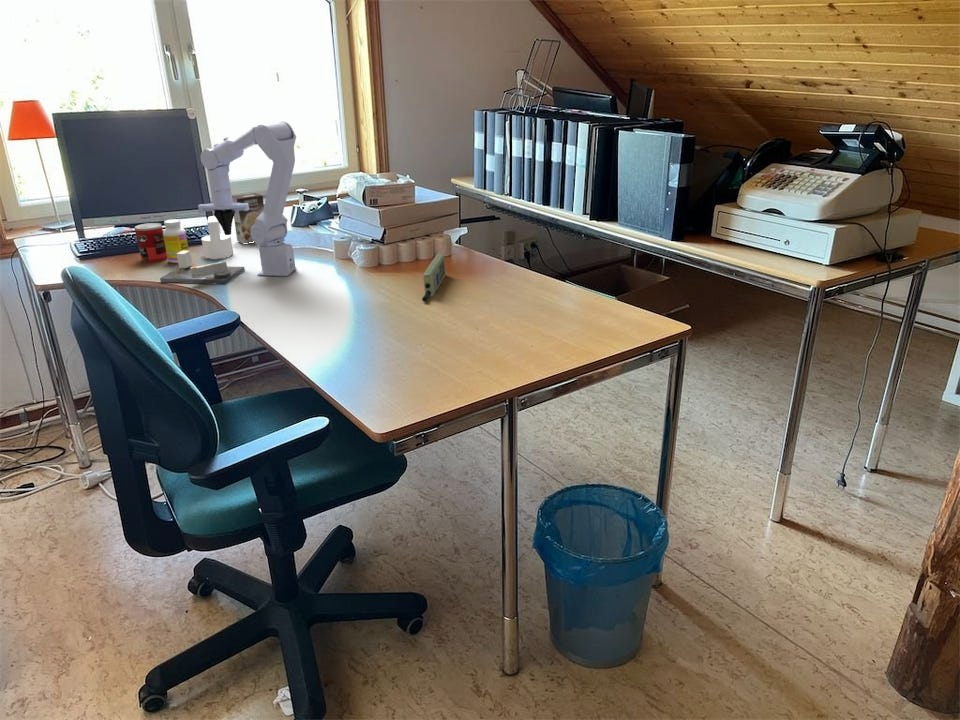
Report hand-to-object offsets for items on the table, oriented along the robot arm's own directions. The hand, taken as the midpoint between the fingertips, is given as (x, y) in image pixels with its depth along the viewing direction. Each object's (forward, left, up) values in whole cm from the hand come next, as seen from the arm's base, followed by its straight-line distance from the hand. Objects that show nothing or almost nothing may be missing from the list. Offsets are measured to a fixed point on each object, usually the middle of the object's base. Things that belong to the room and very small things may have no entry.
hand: (228, 234), depth 214 cm
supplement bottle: (+20, -4, -10) cm, 23 cm away
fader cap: (+12, +7, -8) cm, 16 cm away
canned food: (+29, -5, -10) cm, 31 cm away
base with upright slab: (+10, -11, -10) cm, 18 cm away
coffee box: (+6, -29, -10) cm, 31 cm away
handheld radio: (-67, +17, -10) cm, 70 cm away
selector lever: (-1, +16, -8) cm, 18 cm away
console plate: (+4, +12, -10) cm, 16 cm away
